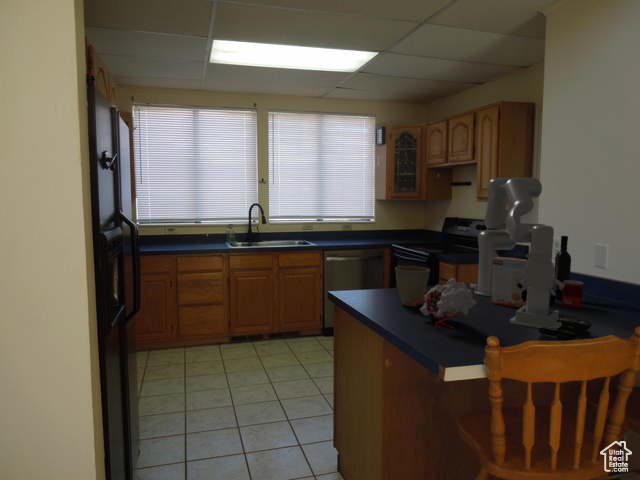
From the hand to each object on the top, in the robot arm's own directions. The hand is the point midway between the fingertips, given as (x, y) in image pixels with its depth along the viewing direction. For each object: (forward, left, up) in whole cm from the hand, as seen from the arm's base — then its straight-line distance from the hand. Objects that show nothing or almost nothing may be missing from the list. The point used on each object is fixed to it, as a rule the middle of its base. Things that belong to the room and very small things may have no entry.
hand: (537, 303), depth 174 cm
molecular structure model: (-26, -26, -8) cm, 38 cm away
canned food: (+5, +41, -8) cm, 42 cm away
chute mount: (0, 0, -8) cm, 8 cm away
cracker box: (-17, +24, -8) cm, 30 cm away
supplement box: (0, 0, -6) cm, 6 cm away
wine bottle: (-2, +54, -8) cm, 55 cm away
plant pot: (-50, -5, -8) cm, 51 cm away
